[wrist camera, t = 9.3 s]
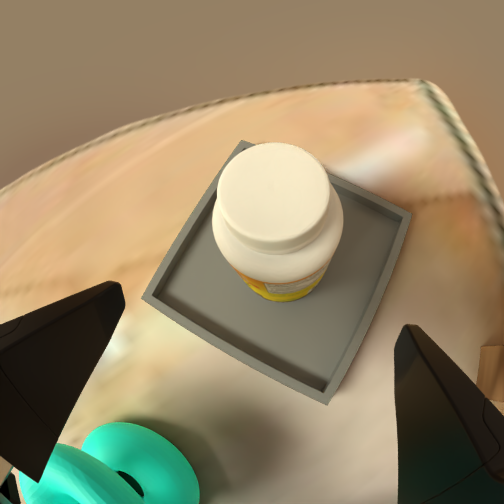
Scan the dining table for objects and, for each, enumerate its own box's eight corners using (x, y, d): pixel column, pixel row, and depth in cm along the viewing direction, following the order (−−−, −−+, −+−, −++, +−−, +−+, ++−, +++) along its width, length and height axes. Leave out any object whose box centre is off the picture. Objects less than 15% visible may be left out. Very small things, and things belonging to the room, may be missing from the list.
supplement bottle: (236, 231, 20) (191, 140, 11) (315, 217, 20) (329, 116, 10) (247, 311, 19) (199, 279, 9) (331, 296, 18) (374, 248, 9)
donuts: (-2, 482, 8) (37, 414, 9) (78, 455, 17) (132, 394, 19) (104, 591, 5) (190, 564, 6) (159, 533, 14) (231, 483, 16)
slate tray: (323, 399, 17) (327, 405, 15) (152, 302, 21) (141, 298, 19) (404, 223, 20) (412, 213, 18) (244, 153, 23) (241, 139, 22)
